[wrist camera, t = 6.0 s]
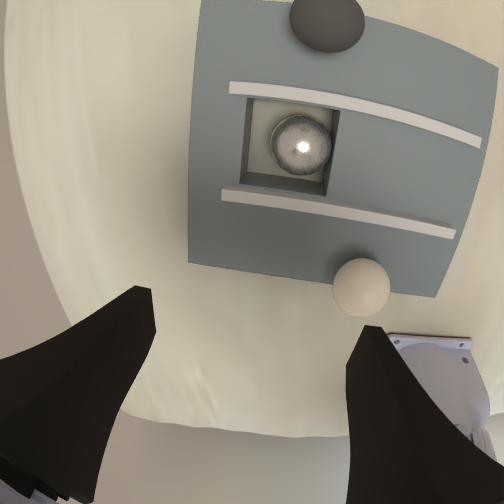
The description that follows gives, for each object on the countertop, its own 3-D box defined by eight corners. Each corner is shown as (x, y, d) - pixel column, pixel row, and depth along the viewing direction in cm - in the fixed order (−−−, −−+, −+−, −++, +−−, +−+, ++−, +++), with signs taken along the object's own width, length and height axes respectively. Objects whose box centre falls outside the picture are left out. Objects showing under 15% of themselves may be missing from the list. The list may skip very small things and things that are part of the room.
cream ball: (390, 252, 16) (405, 284, 13) (374, 296, 18) (383, 332, 15) (337, 243, 16) (344, 275, 14) (325, 290, 18) (328, 326, 15)
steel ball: (295, 111, 16) (346, 121, 14) (288, 163, 18) (336, 178, 16) (260, 110, 14) (317, 121, 12) (254, 170, 16) (307, 188, 14)
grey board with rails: (477, 68, 12) (505, 68, 9) (423, 276, 19) (438, 304, 17) (214, 11, 13) (197, -4, 10) (199, 243, 21) (184, 268, 18)
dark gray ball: (359, 6, 10) (374, -14, 7) (354, 62, 12) (369, 55, 9) (292, -6, 10) (291, -29, 8) (287, 51, 12) (284, 39, 9)
